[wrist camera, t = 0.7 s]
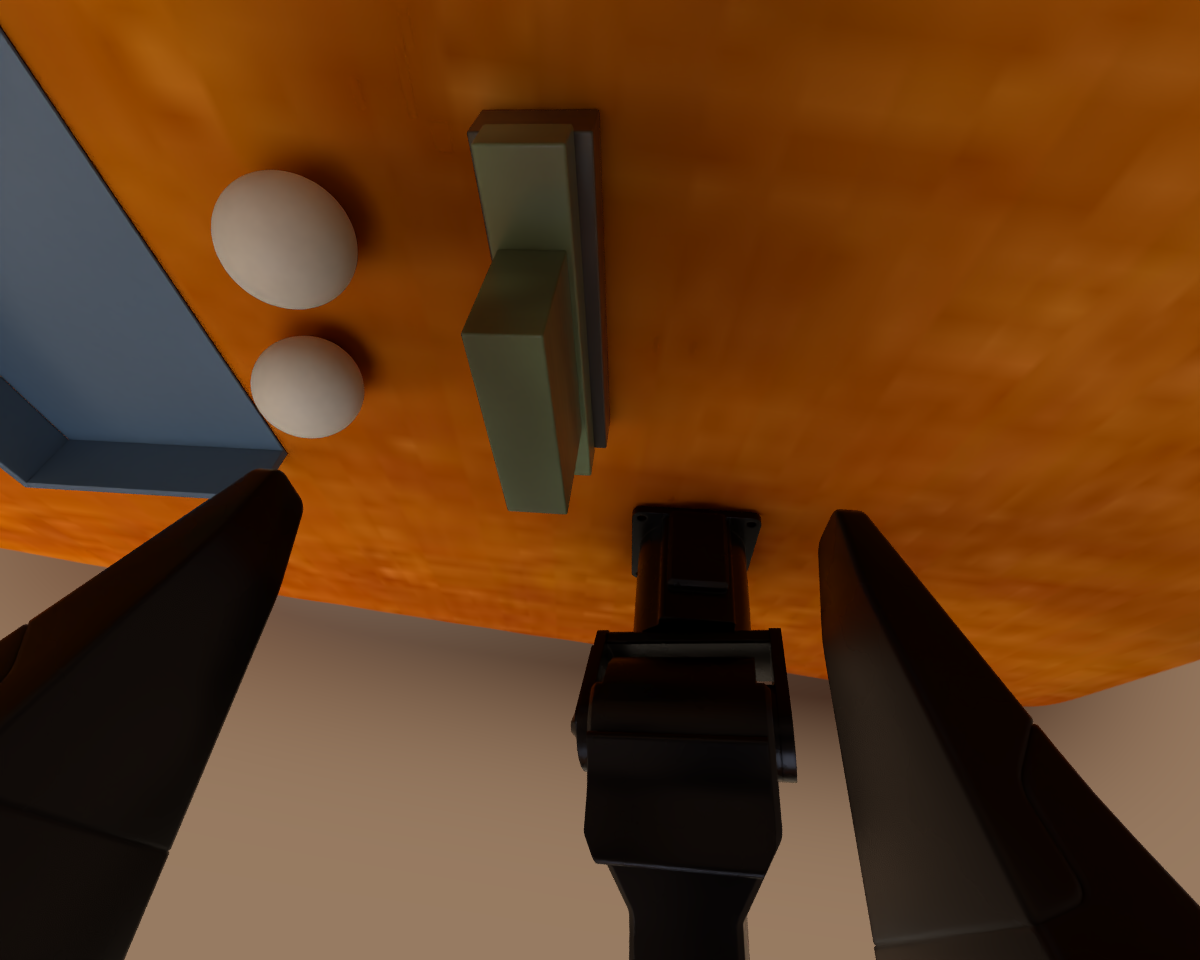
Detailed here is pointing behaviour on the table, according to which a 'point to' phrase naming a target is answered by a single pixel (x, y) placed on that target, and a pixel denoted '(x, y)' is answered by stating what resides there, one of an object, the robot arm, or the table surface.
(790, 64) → the table surface
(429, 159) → the table surface
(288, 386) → the crumb
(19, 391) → the dustpan
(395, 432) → the table surface
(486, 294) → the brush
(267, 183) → the crumb
